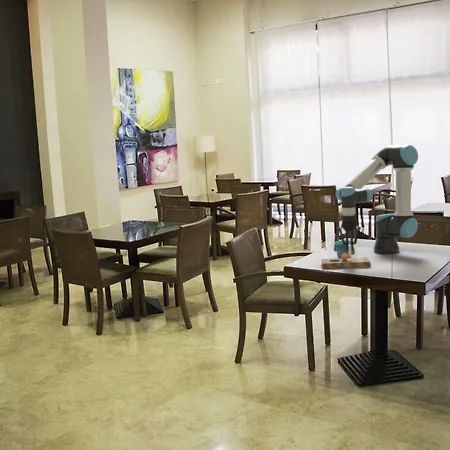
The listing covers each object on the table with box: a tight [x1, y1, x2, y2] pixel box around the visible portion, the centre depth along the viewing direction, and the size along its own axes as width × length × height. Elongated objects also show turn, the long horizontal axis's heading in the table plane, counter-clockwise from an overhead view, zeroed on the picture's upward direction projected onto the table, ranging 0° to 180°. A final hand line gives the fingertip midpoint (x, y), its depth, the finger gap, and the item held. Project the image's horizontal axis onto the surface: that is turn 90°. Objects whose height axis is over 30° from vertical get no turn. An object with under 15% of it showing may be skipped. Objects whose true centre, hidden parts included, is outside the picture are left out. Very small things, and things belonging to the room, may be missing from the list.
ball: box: [341, 253, 348, 260], centre depth 325 cm, size 4×4×4 cm
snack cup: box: [333, 239, 356, 258], centre depth 344 cm, size 16×10×10 cm
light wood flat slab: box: [321, 256, 372, 270], centre depth 326 cm, size 26×12×3 cm, turn 83°
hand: (349, 256), depth 325 cm, fingers closed
